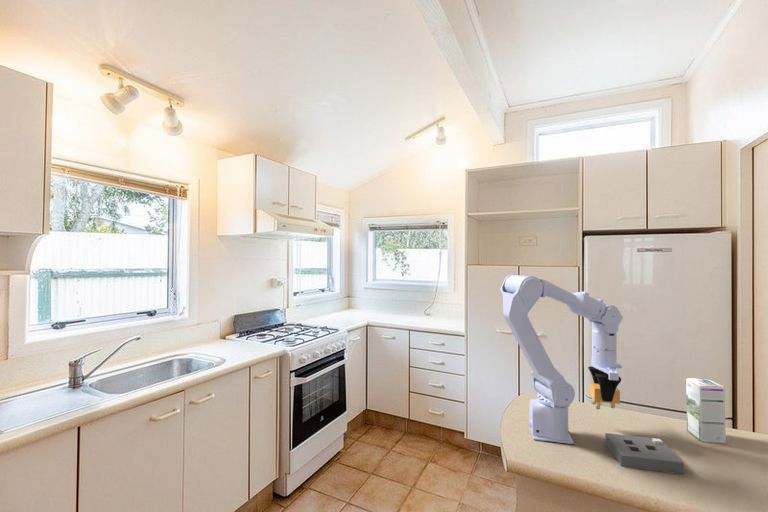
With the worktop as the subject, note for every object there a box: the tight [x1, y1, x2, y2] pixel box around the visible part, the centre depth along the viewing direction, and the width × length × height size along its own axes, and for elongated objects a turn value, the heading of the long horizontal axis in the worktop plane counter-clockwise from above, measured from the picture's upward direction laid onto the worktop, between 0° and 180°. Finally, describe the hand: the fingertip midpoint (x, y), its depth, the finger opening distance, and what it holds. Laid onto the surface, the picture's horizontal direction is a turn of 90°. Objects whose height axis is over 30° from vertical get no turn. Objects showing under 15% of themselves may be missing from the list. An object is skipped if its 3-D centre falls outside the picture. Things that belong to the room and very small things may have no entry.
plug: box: [589, 382, 621, 410], centre depth 95 cm, size 6×4×6 cm, turn 75°
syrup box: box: [685, 377, 727, 444], centre depth 91 cm, size 6×6×14 cm
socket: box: [604, 432, 685, 475], centre depth 82 cm, size 12×10×3 cm
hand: (604, 397), depth 95 cm, fingers closed on plug, 4 cm apart
